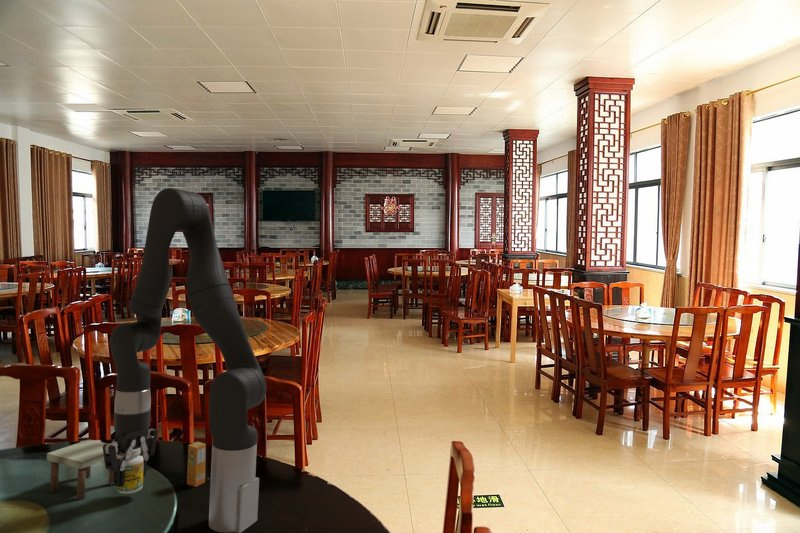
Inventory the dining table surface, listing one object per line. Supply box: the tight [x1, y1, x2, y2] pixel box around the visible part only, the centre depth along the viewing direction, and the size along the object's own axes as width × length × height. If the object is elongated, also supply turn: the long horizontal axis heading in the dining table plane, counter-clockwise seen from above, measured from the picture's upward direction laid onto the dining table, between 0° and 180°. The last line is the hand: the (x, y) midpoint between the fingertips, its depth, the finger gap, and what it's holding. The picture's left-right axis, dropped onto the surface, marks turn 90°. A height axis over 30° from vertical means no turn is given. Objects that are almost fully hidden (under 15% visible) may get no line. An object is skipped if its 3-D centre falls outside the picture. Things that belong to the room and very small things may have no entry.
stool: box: [46, 439, 117, 501], centre depth 130 cm, size 11×11×9 cm
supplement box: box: [186, 441, 207, 488], centre depth 135 cm, size 3×3×10 cm
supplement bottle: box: [116, 447, 144, 495], centre depth 125 cm, size 5×5×10 cm
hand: (130, 480), depth 125 cm, fingers closed on supplement bottle, 5 cm apart
